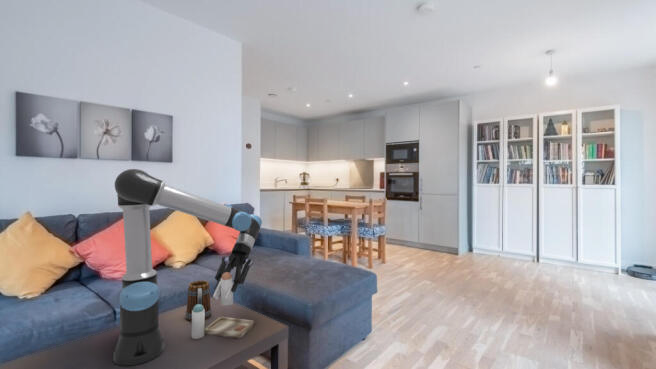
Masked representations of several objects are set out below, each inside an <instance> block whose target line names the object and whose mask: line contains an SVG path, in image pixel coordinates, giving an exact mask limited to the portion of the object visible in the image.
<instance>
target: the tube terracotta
mask: <svg viewBox="0 0 656 369" xmlns="http://www.w3.org/2000/svg"><path fill="white" fill-rule="evenodd" d="M233 280H234V278H233V275H232V273H231V272H230V273H229V272H225V273H224V274H223V275H222V278H221V293H220V305H221V306H223V307H227V306H230V305H233V304H234V293H233V294H232V297H231V299H230V301H227V300H226V299H225V297H226V294H227V292H228V290H229V287H230V285H231V283H232V282H234V281H233Z"/></svg>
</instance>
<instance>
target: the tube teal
mask: <svg viewBox="0 0 656 369" xmlns="http://www.w3.org/2000/svg"><path fill="white" fill-rule="evenodd" d="M205 320H206V319H205V309H204V307H203V306H202V305H201V304H197V305H195V306H194V308H193V310H192V321H191V338H192V339H195V340H199V339H202V338H204V337H205V334H204V329H205V328H206V326H205Z"/></svg>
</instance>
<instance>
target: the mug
mask: <svg viewBox="0 0 656 369" xmlns="http://www.w3.org/2000/svg"><path fill="white" fill-rule="evenodd" d="M209 282H210V281H207V280H204V279H203V280H195V281H192V282H190V283H189V284H188V289H187V302H186V311H185V319H186V320H187V321H189V322H192V310H193V308H194V306H195V305H197V304H201V305H202V306H203V307H204V309H205V320H207V319H208V318H210V317H211V314H212V308H211V295H210V293H211V289H210V283H209Z"/></svg>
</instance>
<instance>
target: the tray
mask: <svg viewBox="0 0 656 369" xmlns="http://www.w3.org/2000/svg"><path fill="white" fill-rule="evenodd" d="M255 325H256V324H255V320H251V319H244V318H238V317H237V318H236V317H226V316H220V317H218V318H216V319H215V320H214V321H213V322H211V323H210V324H209V325H207V326H205V329H204V335H209V336H218V337H224V338H232V339H239V340H241V339H242V338H243V337H244V336H245V335H246V334H247V333H248V332H249V331H250V330H251V329H252V328H254V326H255Z"/></svg>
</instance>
